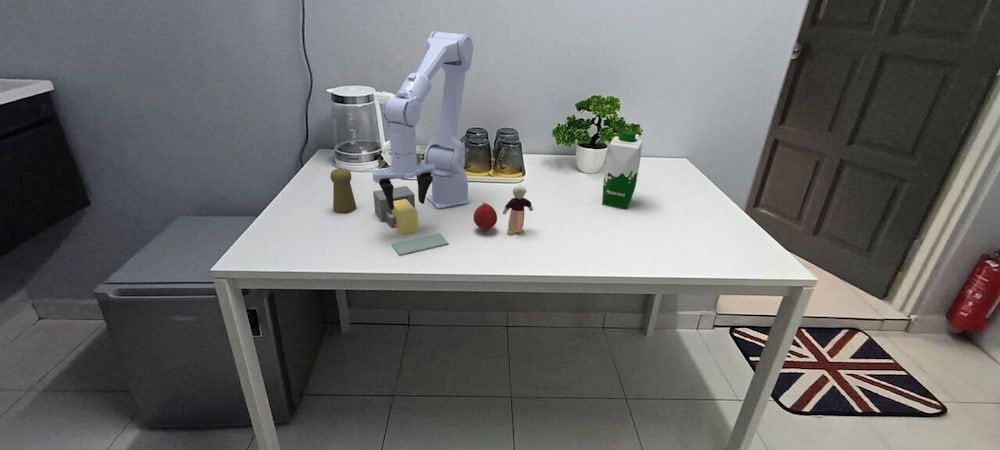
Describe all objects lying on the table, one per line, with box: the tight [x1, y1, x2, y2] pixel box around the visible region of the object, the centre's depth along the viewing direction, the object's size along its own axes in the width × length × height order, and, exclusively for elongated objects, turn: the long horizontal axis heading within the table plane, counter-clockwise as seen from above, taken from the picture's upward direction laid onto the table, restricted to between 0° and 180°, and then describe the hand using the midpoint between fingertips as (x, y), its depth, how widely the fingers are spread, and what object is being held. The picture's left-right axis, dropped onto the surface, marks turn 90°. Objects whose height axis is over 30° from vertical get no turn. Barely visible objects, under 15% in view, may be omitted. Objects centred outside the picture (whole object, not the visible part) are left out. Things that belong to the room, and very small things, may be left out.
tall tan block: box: [391, 199, 419, 235], centre depth 122 cm, size 4×8×6 cm, turn 29°
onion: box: [473, 200, 498, 232], centre depth 120 cm, size 6×6×8 cm
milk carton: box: [601, 130, 643, 210], centre depth 135 cm, size 9×9×20 cm
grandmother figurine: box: [502, 184, 534, 236], centre depth 119 cm, size 8×4×13 cm, turn 117°
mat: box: [391, 232, 450, 257], centre depth 115 cm, size 12×6×1 cm, turn 119°
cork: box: [329, 167, 358, 215], centre depth 128 cm, size 6×6×11 cm
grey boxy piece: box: [372, 185, 416, 228], centre depth 126 cm, size 9×10×6 cm
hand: (406, 205), depth 118 cm, fingers open, 7 cm apart
